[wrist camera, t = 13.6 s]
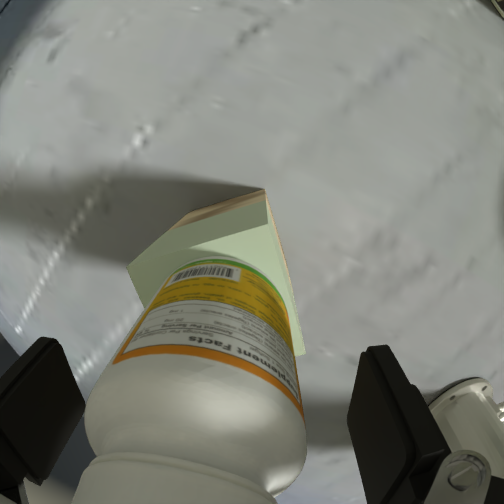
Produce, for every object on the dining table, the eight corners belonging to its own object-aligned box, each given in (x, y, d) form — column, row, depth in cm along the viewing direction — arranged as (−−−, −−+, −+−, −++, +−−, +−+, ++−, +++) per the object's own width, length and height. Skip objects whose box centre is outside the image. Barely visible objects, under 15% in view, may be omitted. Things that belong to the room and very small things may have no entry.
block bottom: (264, 188, 23) (266, 200, 17) (286, 262, 24) (293, 295, 19) (189, 212, 23) (166, 231, 18) (214, 282, 25) (201, 319, 19)
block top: (265, 200, 17) (268, 223, 11) (293, 295, 19) (305, 353, 13) (166, 231, 18) (126, 267, 12) (201, 318, 19) (181, 379, 14)
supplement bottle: (228, 384, 14) (203, 583, 4) (135, 314, 13) (17, 501, 3) (314, 312, 12) (378, 548, 3) (213, 223, 11) (77, 451, 2)
